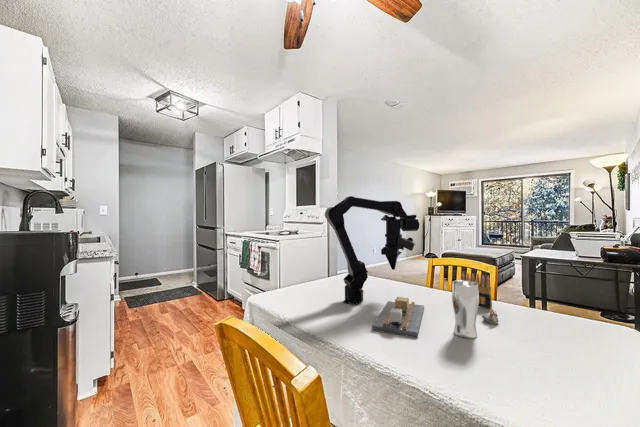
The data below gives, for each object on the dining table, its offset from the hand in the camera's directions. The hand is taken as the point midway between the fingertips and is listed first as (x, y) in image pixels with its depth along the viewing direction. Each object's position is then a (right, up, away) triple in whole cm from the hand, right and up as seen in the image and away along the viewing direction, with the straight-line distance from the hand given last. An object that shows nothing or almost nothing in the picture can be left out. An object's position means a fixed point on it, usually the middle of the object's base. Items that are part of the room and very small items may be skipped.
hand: (393, 269), depth 116 cm
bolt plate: (-3, -12, -22) cm, 25 cm away
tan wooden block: (-2, -10, -19) cm, 21 cm away
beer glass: (+12, -12, -34) cm, 38 cm away
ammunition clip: (+29, -12, -9) cm, 33 cm away
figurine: (+25, -12, -25) cm, 37 cm away
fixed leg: (-7, -11, -30) cm, 32 cm away
